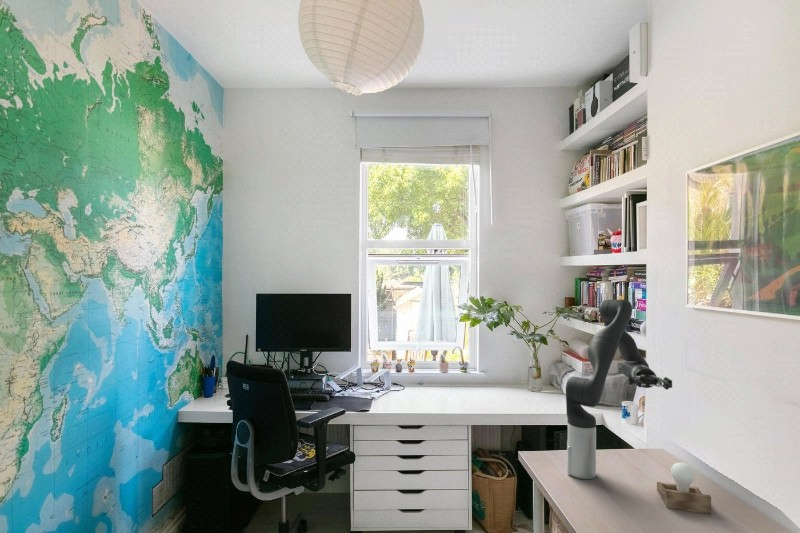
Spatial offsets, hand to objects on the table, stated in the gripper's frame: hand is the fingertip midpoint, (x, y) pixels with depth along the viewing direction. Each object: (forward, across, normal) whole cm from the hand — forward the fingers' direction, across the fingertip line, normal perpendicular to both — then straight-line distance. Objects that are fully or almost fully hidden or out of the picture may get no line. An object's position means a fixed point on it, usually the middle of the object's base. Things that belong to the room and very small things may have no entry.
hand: (653, 385), depth 156 cm
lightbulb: (+22, +3, +30) cm, 37 cm away
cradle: (+22, +3, +30) cm, 37 cm away
